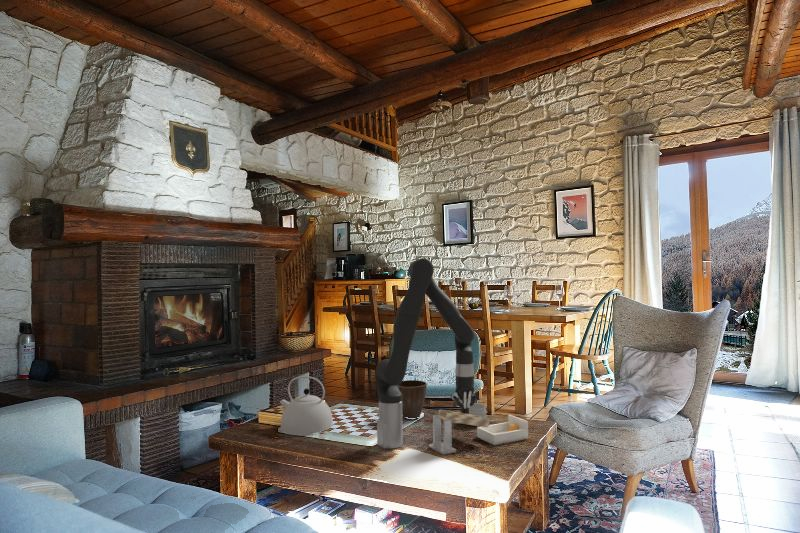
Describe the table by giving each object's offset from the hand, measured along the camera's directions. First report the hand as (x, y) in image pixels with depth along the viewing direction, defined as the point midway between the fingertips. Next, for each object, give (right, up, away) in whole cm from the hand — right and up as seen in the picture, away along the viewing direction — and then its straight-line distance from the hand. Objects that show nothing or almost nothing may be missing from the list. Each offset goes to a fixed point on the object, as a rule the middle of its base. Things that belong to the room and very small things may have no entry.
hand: (465, 416), depth 212 cm
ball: (+20, -5, +1) cm, 21 cm away
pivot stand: (-10, -8, -14) cm, 19 cm away
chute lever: (-4, 0, -5) cm, 7 cm away
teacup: (+6, -9, +21) cm, 24 cm away
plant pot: (-21, -9, +30) cm, 38 cm away
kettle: (-69, -10, +17) cm, 71 cm away
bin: (+15, -8, -1) cm, 17 cm away
